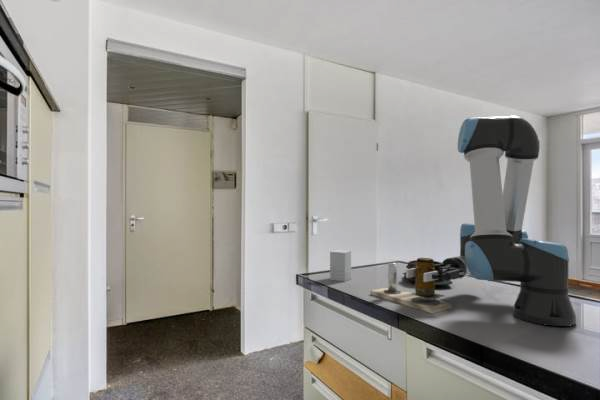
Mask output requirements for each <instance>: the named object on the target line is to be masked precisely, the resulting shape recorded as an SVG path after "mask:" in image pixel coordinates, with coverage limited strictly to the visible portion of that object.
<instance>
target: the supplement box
mask: <svg viewBox="0 0 600 400" xmlns="http://www.w3.org/2000/svg"><path fill="white" fill-rule="evenodd" d="M329 274H330V275H329V277H330V281H336V282H347V281H349V280H351V279H352V251H351V250H346V249H344V250H343V249H335V250H331V251H330V252H329Z"/></svg>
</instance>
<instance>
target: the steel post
mask: <svg viewBox="0 0 600 400" xmlns="http://www.w3.org/2000/svg"><path fill="white" fill-rule="evenodd" d="M387 265H388V267H387V268H388V269H387V273H388V274H387V287H388V292H391V293H395V292H397V289H398V288H397V287H398V286H397V283H398V282H397V280H398V279H397V278H398V277H397V272H398V271H397V268H398V265H397V262H388V264H387Z"/></svg>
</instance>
